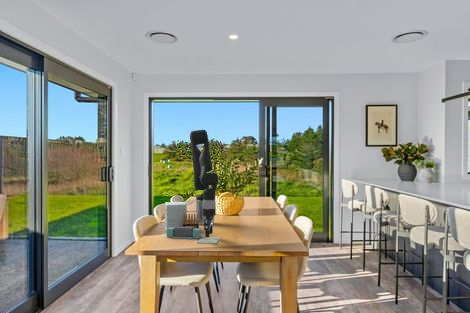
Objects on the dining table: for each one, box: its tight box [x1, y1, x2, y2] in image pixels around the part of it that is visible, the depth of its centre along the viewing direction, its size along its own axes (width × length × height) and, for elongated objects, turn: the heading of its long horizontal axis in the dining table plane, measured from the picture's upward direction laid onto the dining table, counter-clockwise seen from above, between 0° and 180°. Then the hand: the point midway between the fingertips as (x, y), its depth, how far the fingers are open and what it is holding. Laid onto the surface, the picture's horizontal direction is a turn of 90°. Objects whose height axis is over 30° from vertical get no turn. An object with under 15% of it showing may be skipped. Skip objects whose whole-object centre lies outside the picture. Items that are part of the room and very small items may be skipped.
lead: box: [174, 226, 194, 239], centre depth 198 cm, size 4×11×6 cm, turn 82°
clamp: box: [166, 227, 202, 240], centre depth 197 cm, size 8×20×5 cm, turn 81°
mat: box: [196, 236, 221, 245], centre depth 189 cm, size 12×11×1 cm
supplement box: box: [164, 201, 188, 233], centre depth 218 cm, size 13×13×18 cm
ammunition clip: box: [182, 212, 200, 229], centre depth 211 cm, size 11×2×12 cm, turn 96°
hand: (209, 235), depth 189 cm, fingers open, 8 cm apart
